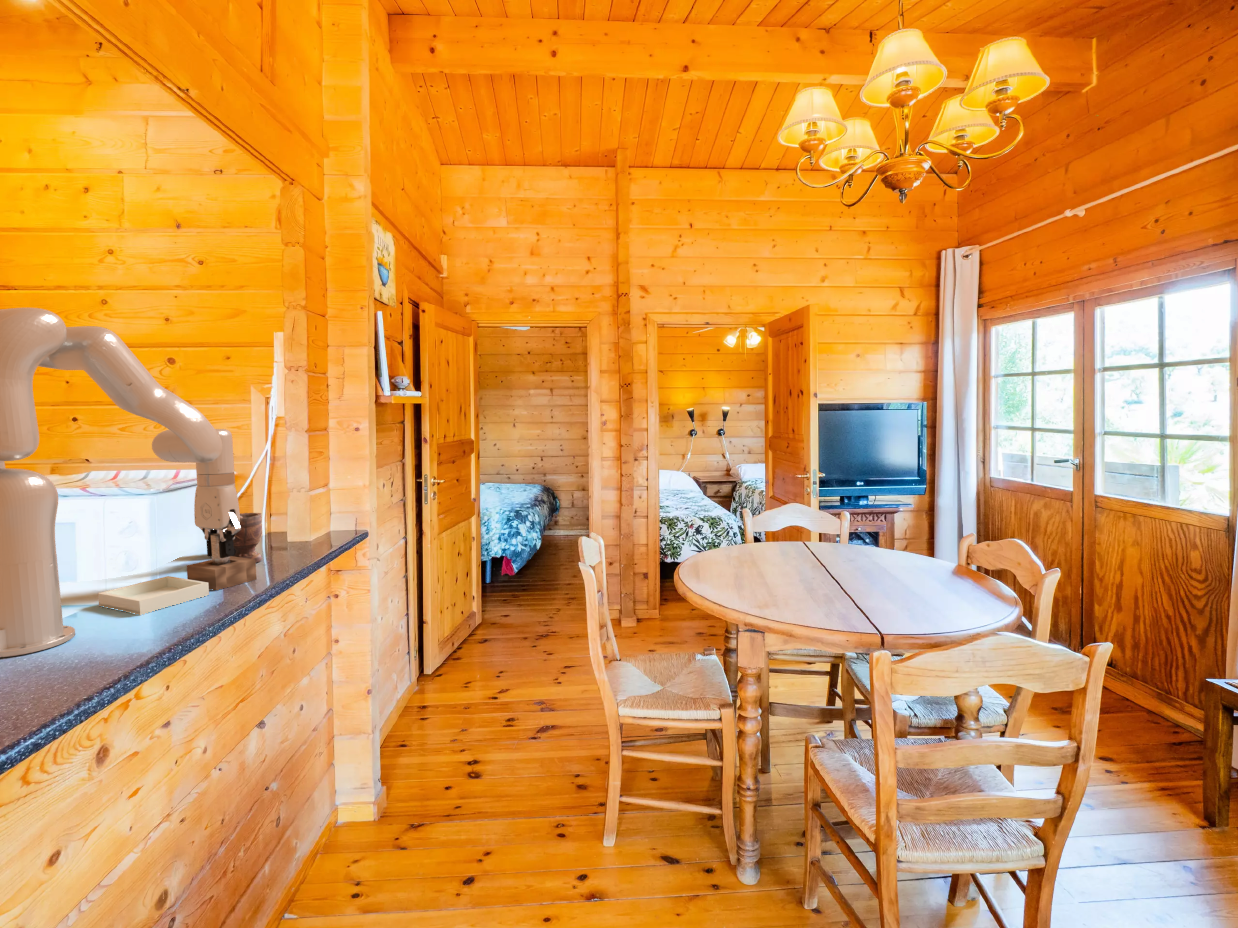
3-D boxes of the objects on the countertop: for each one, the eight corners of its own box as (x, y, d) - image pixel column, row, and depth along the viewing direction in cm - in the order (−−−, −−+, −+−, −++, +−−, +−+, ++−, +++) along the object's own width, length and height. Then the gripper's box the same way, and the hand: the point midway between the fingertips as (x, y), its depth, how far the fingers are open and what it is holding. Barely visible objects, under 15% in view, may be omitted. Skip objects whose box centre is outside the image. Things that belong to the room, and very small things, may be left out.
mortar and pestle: (252, 568, 158) (247, 493, 156) (215, 570, 156) (210, 494, 154) (268, 557, 169) (264, 487, 167) (235, 559, 167) (230, 488, 166)
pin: (220, 585, 143) (217, 535, 142) (210, 583, 144) (207, 534, 143) (234, 581, 146) (231, 533, 145) (224, 579, 148) (221, 531, 146)
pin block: (216, 590, 139) (215, 569, 138) (187, 585, 142) (186, 565, 142) (256, 579, 148) (255, 559, 148) (228, 575, 152) (227, 555, 151)
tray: (140, 615, 122) (139, 601, 122) (99, 606, 128) (97, 593, 127) (209, 595, 135) (208, 582, 135) (169, 588, 140) (168, 576, 140)
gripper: (176, 480, 142) (182, 556, 144) (224, 484, 136) (229, 562, 138) (208, 477, 149) (213, 549, 151) (255, 480, 143) (259, 555, 145)
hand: (220, 555), depth 145 cm, fingers closed on pin, 3 cm apart
